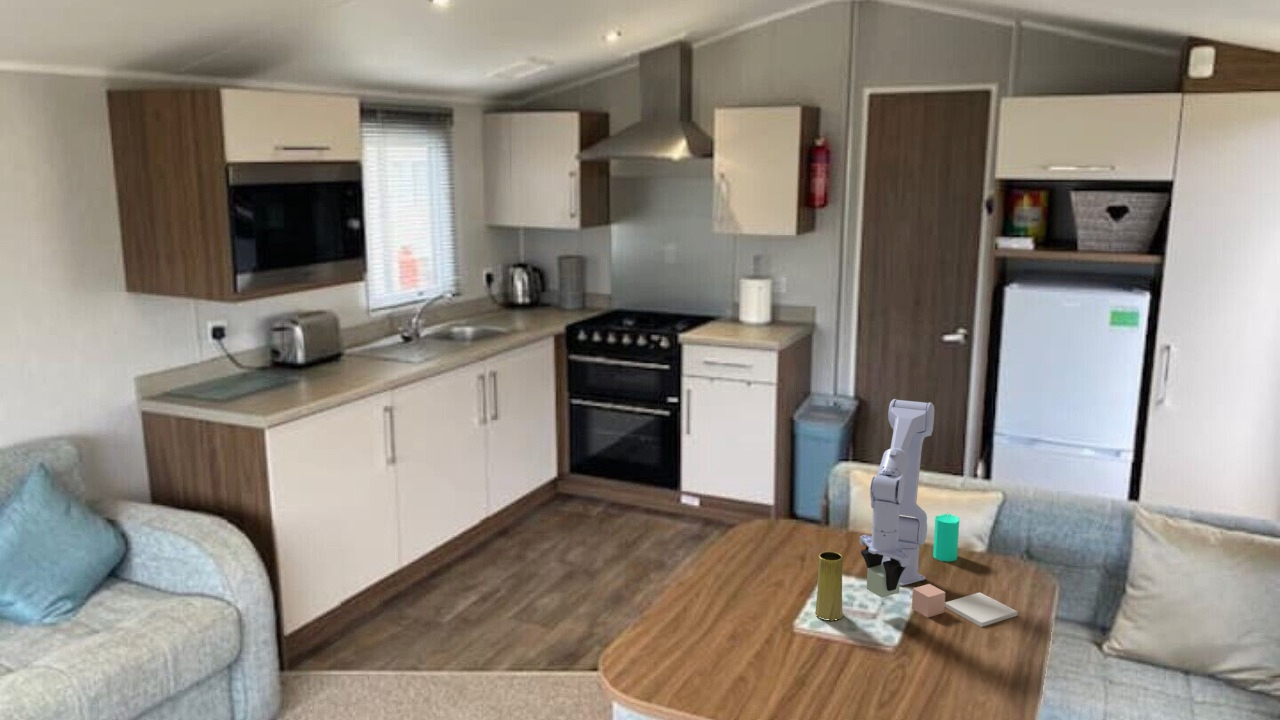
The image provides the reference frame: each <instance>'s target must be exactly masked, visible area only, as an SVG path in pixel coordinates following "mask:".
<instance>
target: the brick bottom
mask: <svg viewBox="0 0 1280 720" xmlns="http://www.w3.org/2000/svg"><path fill="white" fill-rule="evenodd" d="M866 568H867V567H866ZM899 583H900V579H899V581H898V584H897V587H896V589H895V590H892V591H888V590H887V586H886V572H885V568H884V566H883V564H882V565H878V566H875V567H871V568H867V571H866V590H868V591H869V592H871V593H873V594H874V595H876V596H878V597H880V598H887V597H890V596H893V595H896V594H899V593H900V585H899Z"/></svg>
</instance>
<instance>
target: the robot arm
mask: <svg viewBox="0 0 1280 720" xmlns="http://www.w3.org/2000/svg"><path fill="white" fill-rule="evenodd" d="M887 412H888V414H887V416H888V417H887V419H888V422H889V424H890V428H891V429H892V430H893V431H892V432H893V433H892V436H891V437H892V438H891V443H890V448H889V449H886V450H885V451H884V452H883V454H882V458H881V460H880V464H879V467H878V471H877V474H876V476H873V477H872V478H871V482H870V487H869V489H870V490H869V494H870V496H869V497H870V506H871V509H872V524H871V527H872V528H871V535H868V534H863V535H860V536H859V545H861V546H865V549H862V550H860V553H861V556H862V558H863V559H864V562H865V565H866V568H871V567H875V566H878V565H882V564H883V566H884V568H885V572H886V586H887V590H888V591H892V590H895V589H896V587H897V584H898V581H899V579H900V583H899V587H900V586H901V587H904V586H906V585H910V584H913V583H917V582H921V581H925V580H926V577H925V576H924V575H923V574H920V573H919V559H920V558H919V557H920V546H923V545H924V544H925V542H926V540H927V534H928V514H927V513H926V511H925V510H924V509H923V508H922V507H920V505H919V504H917V503H918V502H917V500H918V490H919V482H920V481H919V479H920V478H919V477H920V471H921V469H920V468H921V462H922V461H921V459H922V450H923V449H922V448H923V444H924V443H923V442H924V440H925V438H927V437H931V436H932V435H933V434H932V433H933V431H934V423H935V422H934V421H935V405H934V404H933V403H932V402H930V401H929V402H923V401H914V400H913V401H912V400H901V399H897V398H893V399H892V400H891V401H890V403H889V406H888V411H887Z"/></svg>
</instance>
